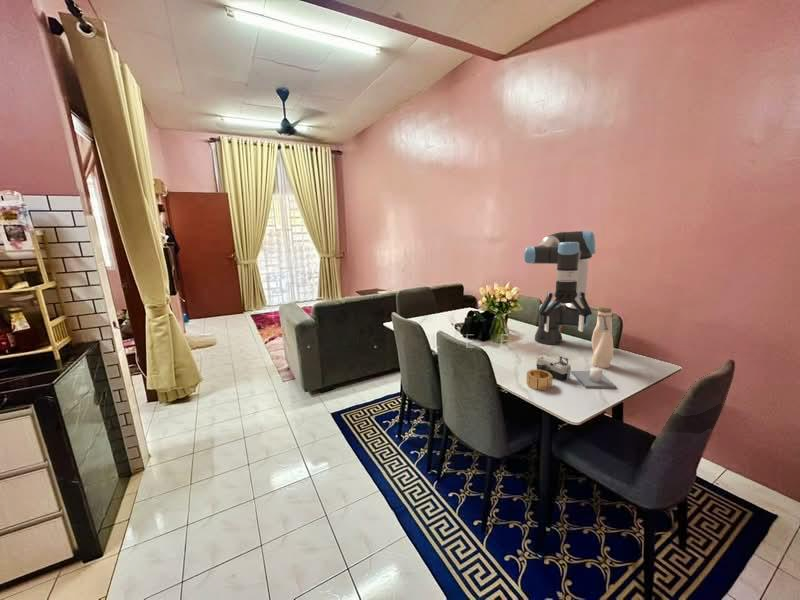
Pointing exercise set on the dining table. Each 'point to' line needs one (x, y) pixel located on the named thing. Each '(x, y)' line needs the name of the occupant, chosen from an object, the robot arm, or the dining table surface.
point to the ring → (539, 379)
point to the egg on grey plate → (593, 379)
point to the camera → (554, 367)
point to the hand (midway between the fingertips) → (563, 331)
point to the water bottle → (603, 339)
